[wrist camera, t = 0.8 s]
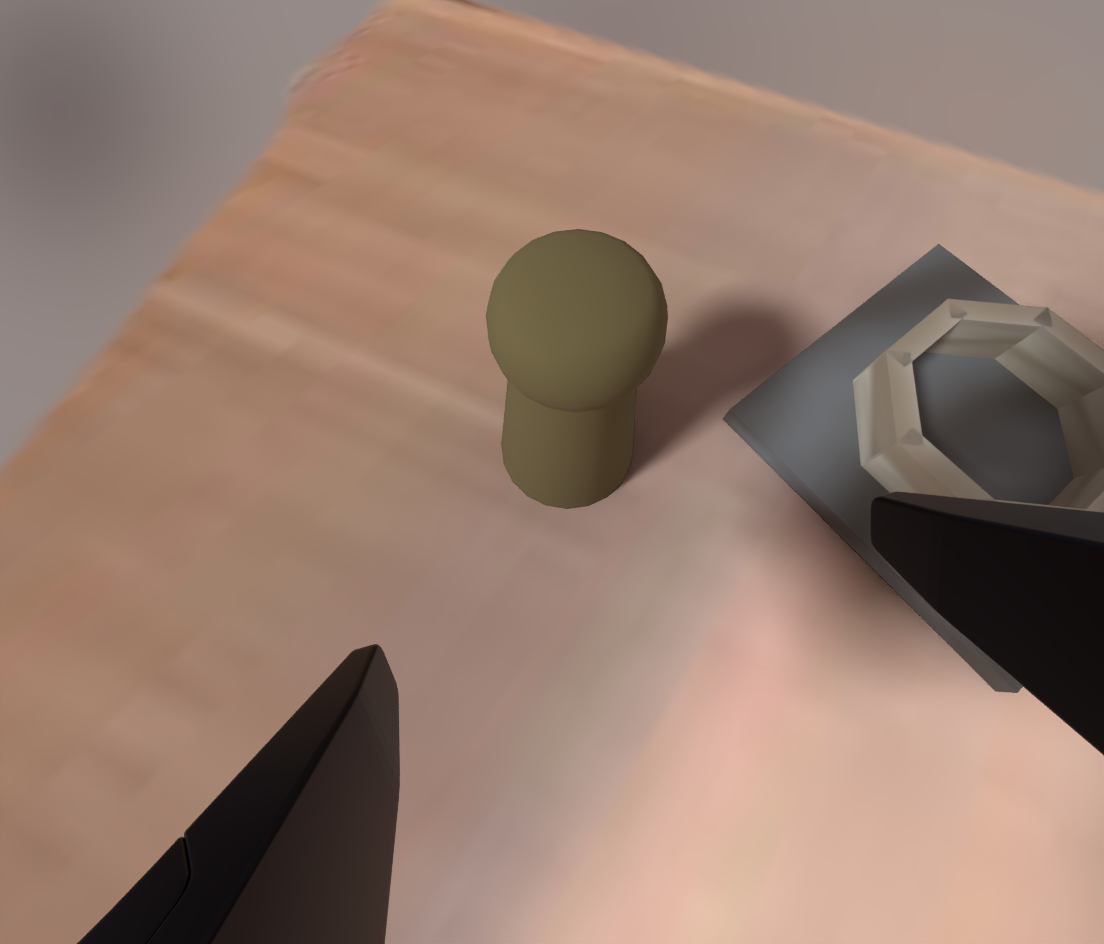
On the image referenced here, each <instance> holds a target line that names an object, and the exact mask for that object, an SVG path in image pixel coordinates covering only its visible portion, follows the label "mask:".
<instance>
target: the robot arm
mask: <svg viewBox="0 0 1104 944" xmlns="http://www.w3.org/2000/svg"><path fill="white" fill-rule="evenodd" d="M870 539H871V543H872V545H873V547H874V548H875V550H876V551H877V552H878V553H879V554H880V555H881V556H882V557H883V558H884V559H885V560H886V561H887V562H888V564H889V565H890V566H891V567H892V568H893V569H894V570H895V571H896V572H897V573H898V574H899V575H900V576H901V577H902V578H903V579H904V580H905V581H906V582H907V583H908V584H909V585H910V586H911V587H912V588H913V589H914V590H915V591H916V592H917V593H918V594H919V595H920V596H921V597H922V598H923V599H924V600H925V601H926V602H927V603H928V604H929V605H930V606H931V607H932V608H933V609H934V610H935V611H936V612H937V613H938V614H939V615H940V616H941V617H942V618H944V619H945V620H946V621H947V622H948V623H949V624H950V625H952V626H953V627H954V628H955V629H956V630H957V631H959V632H960V633H961V634H962V635H963V636H964V637H966V638H967V639H968V640H969V641H970V642H972V643H973V644H974V645H975V646H976V647H977V648H979V649H980V650H981V651H982V652H983V653H984V654H986V655H987V656H988V657H989V658H990V659H991V660H993V661H994V662H995V663H996V664H997V665H998V666H1000V667H1001V668H1002V669H1003V670H1004V671H1005V672H1007V673H1008V674H1009V675H1010V676H1011V677H1013V678H1014V679H1015V680H1016V681H1017V682H1018V683H1020V684H1021V685H1022V686H1023V687H1024V688H1025V689H1027V690H1028V691H1029V692H1030V693H1031V694H1032V695H1034V696H1035V697H1036V698H1037V699H1038V700H1039V701H1041V702H1042V703H1043V704H1044V705H1045V706H1047V707H1048V708H1049V709H1050V710H1051V711H1052V712H1054V713H1055V714H1056V715H1057V716H1058V717H1059V718H1061V719H1062V720H1063V721H1064V722H1065V723H1066V724H1068V725H1069V726H1070V727H1071V728H1072V729H1073V730H1075V731H1076V732H1077V733H1078V734H1079V735H1081V736H1082V737H1083V738H1084V739H1085V740H1086V741H1088V742H1089V743H1090V744H1091V745H1092V746H1093V747H1095V748H1096V749H1097V750H1098V751H1099V752H1100V753H1102V754H1103V755H1104V512H1094V511H1085V510H1075V509H1065V508H1055V507H1046V506H1036V505H1026V504H1016V503H1007V502H997V501H987V500H977V499H968V498H958V497H948V496H938V495H929V494H919V493H909V492H899V491H895V492H890V493H887V494H884V495H880V496H877V497H875V498H874V499H873V500H872V502H871V505H870ZM399 787H400V754H399V697H398V688H397V684H396V681H395V678H394V676H393V674H392V671H391V669H390V666H389V664H388V662H387V659H386V657H385V654H384V652H383V650H382V648H381V647H380V646H379V645H377V644H373V645H370V646H366V647H363V648H359V649H356V650H354V651H352V652H351V653H350V654H349V655H348V656H347V658H346V659H345V660H344V661H343V662H342V663H341V664H340V665H339V666H338V667H337V668H336V669H335V670H334V672H333V673H332V674H331V675H330V676H329V677H328V678H327V679H326V680H325V681H324V682H323V683H322V685H321V686H320V687H319V688H318V689H317V690H316V691H315V692H314V693H313V694H312V695H311V696H310V697H309V699H308V700H307V701H306V702H305V703H304V704H303V705H302V706H301V707H300V708H299V709H298V710H297V711H296V713H295V714H294V715H293V716H292V717H291V718H290V719H289V720H288V721H287V722H286V723H285V724H284V725H283V727H282V728H281V729H280V730H279V731H278V732H277V733H276V734H275V735H274V736H273V737H272V738H271V739H270V741H269V742H268V743H267V744H266V745H265V746H264V747H263V748H262V749H261V750H260V751H259V752H258V753H257V755H256V756H255V757H254V758H253V759H252V760H251V761H250V762H249V763H248V764H247V765H246V766H245V767H244V769H243V770H242V771H241V772H240V773H239V774H238V775H237V776H236V777H235V778H234V779H233V780H232V781H231V782H230V784H229V785H228V786H227V787H226V788H225V789H224V790H223V791H222V792H221V793H220V794H219V795H218V796H217V798H216V799H215V800H214V801H213V802H212V803H211V804H210V805H209V806H208V807H207V808H206V809H205V810H204V812H203V813H202V814H201V815H200V816H199V817H198V818H197V819H196V820H195V821H194V822H193V823H192V824H191V826H190V827H189V828H188V829H187V830H186V831H185V833H184V837H180V838H178V839H177V840H176V841H175V843H174V844H173V845H172V846H171V847H170V848H169V849H168V850H167V851H166V852H165V853H164V855H163V856H162V857H161V858H160V859H159V860H158V861H157V862H156V863H155V864H154V865H153V866H152V867H151V868H150V870H149V871H148V872H147V873H146V874H145V875H144V876H143V877H142V878H141V879H140V880H139V881H138V882H137V883H136V884H135V885H134V886H133V887H132V888H131V889H130V890H129V892H128V893H127V894H126V895H125V896H124V897H123V898H122V899H121V900H120V901H119V902H118V903H117V904H116V905H115V906H114V907H113V908H112V909H111V910H110V911H109V912H108V913H107V914H106V915H105V916H104V917H103V918H102V919H101V920H100V921H99V922H98V923H97V924H96V925H95V926H94V927H93V928H92V929H91V930H90V931H89V932H88V933H87V934H86V935H85V936H84V937H83V938H82V939H81V940H80V941H79V942H78V943H77V944H385V935H386V925H387V915H388V904H389V894H390V884H391V873H392V863H393V853H394V843H395V832H396V822H397V812H398V801H399Z"/></svg>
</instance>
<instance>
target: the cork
mask: <svg viewBox="0 0 1104 944" xmlns="http://www.w3.org/2000/svg"><path fill="white" fill-rule="evenodd" d="M486 321H487V329H488V338H489V343H490V348H491V352H492V353H493V355H494V357H495V359H496V361H497V363H498V365H499V367H500V369H501V371H502V373H503V374H504V375H505V377H506V378H507V379H508V382H507V393H506V403H505V413H504V423H503V433H502V444H501V445H502V453H503V462H504V465H505V467H506V469H507V471H508V473H509V475H510V477H511V479H512V481H513V482H514V483H515V484H516V485H517V486H518V487H519V488H520V489H521V490H522V491H523V492H524V493H525V494H526V495H527V496H529V497H530V498H532V499H534V500H536V501H538V502H540V503H542V504H544V505H547V506H553V507H559V508H565V509H570V508H577V507H584V506H589V505H591V504H593V503H595V502H598V501H600V500H602V499H604V498H606V497H608V496H609V495H610V494H611V493H612V492H613V491H614V490H615V489H616V488H617V487H618V486H619V485H620V484H621V483H622V482H623V480H624V478H625V476H626V474H627V472H628V470H629V468H630V466H631V460H632V453H633V444H634V423H635V402H636V387H637V386H638V385H639V384H641V383H642V382H643V381H644V380H645V379H646V378H647V377H648V376H649V374H650V372H651V370H652V369H653V367H654V365H655V363H656V361H657V359H658V357H659V355H660V354H661V351H662V348H663V346H664V343H665V337H666V329H667V321H668V312H667V303H666V299H665V295H664V292H663V288H662V284H661V282H660V280H659V279H658V277H657V276H656V274H655V273H654V271H653V270H652V268H651V267H650V266H649V264H648V263H647V261H646V260H645V258H644V257H643V255H641V254H640V253H639V252H637V251H636V250H635V249H634V248H632V247H631V246H630V245H628V244H627V243H626V242H625V241H622V240H620V239H617V238H615V237H612V236H610V235H608V234H605V233H603V232H596V231H588V230H581V229H575V230H566V231H557V232H553V233H550V234H547V235H545V236H542V237H540V238H537V239H534V240H532V241H531V242H529V243H528V244H527V245H525V246H524V247H523V248H521V249H520V250H519V251H517V252H516V253H515V254H514V255H513V256H512V257H511V258H510V259H509V260H508V262H507V263H506V264H505V266H504V267H503V269H502V270H501V272H500V273H499V275H498V276H497V277H496V279H495V280H494V283H493V287H492V291H491V295H490V299H489V302H488V307H487V312H486Z"/></svg>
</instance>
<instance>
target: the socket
mask: <svg viewBox="0 0 1104 944" xmlns="http://www.w3.org/2000/svg"><path fill="white" fill-rule="evenodd" d="M723 420H724V421H725V422H726V423H727V424H728V425H729V426H730V427H731V428H732V429H733V430H734V431H735V432H736V433H737V434H738V435H739V436H740V437H741V438H742V439H743V440H744V441H745V442H746V443H747V444H748V445H749V446H750V447H751V448H752V449H753V450H754V451H755V452H756V453H757V454H758V455H760V456H761V457H762V458H763V459H764V460H765V461H766V462H767V463H768V464H769V465H770V466H771V467H772V468H773V469H774V470H775V471H776V472H777V473H778V474H779V475H780V476H781V477H782V478H783V479H784V480H785V481H786V482H787V483H788V484H789V485H790V486H791V487H792V488H793V489H794V490H795V491H796V492H797V493H798V494H799V495H800V496H801V497H802V498H803V499H804V500H805V501H806V502H807V503H808V504H809V505H810V506H811V507H812V508H813V509H814V510H815V511H816V512H817V513H818V514H819V515H820V516H821V517H822V518H823V519H824V520H825V521H826V522H827V523H828V524H829V525H830V526H831V527H832V528H833V529H834V530H835V531H836V532H837V533H838V534H839V535H840V536H841V537H842V538H843V539H844V540H845V541H846V542H847V543H848V544H849V545H850V546H851V547H852V548H853V549H854V550H855V551H856V552H857V553H858V554H859V555H860V556H861V557H862V558H863V559H864V560H865V561H866V562H867V563H868V564H869V565H870V566H871V567H872V568H873V569H874V570H875V571H876V572H877V573H878V574H879V575H880V576H881V577H882V578H883V579H884V580H885V581H886V582H887V583H888V584H889V585H890V586H891V587H892V588H893V589H894V590H895V591H896V592H897V593H898V594H899V595H900V596H901V597H902V598H903V599H904V600H905V601H906V602H907V603H908V604H909V605H910V606H911V607H912V608H913V609H914V610H915V611H916V612H917V613H918V614H919V615H920V616H921V617H922V618H923V619H924V620H925V621H926V622H927V623H928V624H929V625H930V626H931V627H932V628H933V629H934V630H935V631H936V632H937V633H938V634H939V635H940V636H941V637H942V638H943V639H944V640H945V641H946V642H947V643H948V644H949V645H950V646H951V647H952V648H953V649H954V650H955V651H956V652H957V653H958V654H959V655H960V656H961V657H962V658H963V659H964V660H965V661H966V662H967V663H968V664H969V665H970V666H971V667H972V668H973V669H974V670H975V671H976V672H977V673H978V674H979V675H980V676H981V677H982V678H983V679H984V680H985V681H986V682H987V683H988V684H989V685H990V686H991V687H992V688H993V689H994V690H995V691H999V692H1012V693H1018V692H1019V690H1020V689H1021V688H1022V687H1023V686H1022V685H1021V684H1020V683H1018V682H1017V681H1016V680H1015V679H1014V678H1013V677H1011V676H1010V675H1009V674H1008V673H1007V672H1005V671H1004V670H1003V669H1002V668H1001V667H1000V666H998V665H997V664H996V663H995V662H994V661H993V660H991V659H990V658H989V657H988V656H987V655H986V654H984V653H983V652H982V651H981V650H980V649H979V648H977V647H976V646H975V645H974V644H973V643H972V642H970V641H969V640H968V639H967V638H966V637H964V636H963V635H962V634H961V633H960V632H959V631H957V630H956V629H955V628H954V627H953V626H952V625H950V624H949V623H948V622H947V621H946V620H945V619H944V618H942V617H941V616H940V615H939V614H938V613H937V612H936V611H935V610H934V609H933V608H932V607H931V606H930V605H929V604H928V603H927V602H926V601H925V600H924V599H923V598H922V597H921V596H920V595H919V594H918V593H917V592H916V591H915V590H914V589H913V588H912V587H911V586H910V585H909V584H908V583H907V582H906V581H905V580H904V579H903V578H902V577H901V576H900V575H899V574H898V573H897V572H896V571H895V570H894V569H893V568H892V567H891V566H890V565H889V564H888V562H887V561H886V560H885V559H884V558H883V557H882V556H881V555H880V554H879V553H878V552H877V551H876V550H875V548H874V547H873V545H872V543H871V539H870V505H871V502H872V500H873V499H874V498H875V497H877V496H880V495H884V494H887V493H890V492H895V491H899V492H909V493H919V494H929V495H938V496H948V497H958V498H968V499H977V500H987V501H997V502H1007V503H1016V504H1026V505H1036V506H1046V507H1055V508H1065V509H1075V510H1085V511H1094V512H1104V350H1103V349H1102V348H1101V347H1099V346H1098V345H1097V344H1095V343H1094V342H1093V341H1091V340H1090V339H1089V338H1087V337H1086V336H1085V335H1083V334H1082V333H1081V332H1079V331H1078V330H1077V329H1075V328H1074V327H1073V326H1071V325H1070V324H1069V323H1067V322H1066V321H1065V320H1063V319H1062V318H1061V317H1059V316H1058V315H1057V314H1055V313H1054V312H1053V311H1051V310H1050V309H1049V308H1044V307H1033V306H1022V305H1019V304H1018V303H1016V302H1015V301H1014V300H1012V299H1011V298H1010V297H1008V296H1007V295H1006V294H1004V293H1003V292H1002V291H1000V290H999V289H998V288H996V287H995V286H994V285H993V284H991V283H990V282H989V281H987V280H986V279H985V278H983V277H982V276H981V275H979V274H978V273H977V272H975V271H974V270H973V269H971V268H970V267H969V266H967V265H966V264H965V263H963V262H962V261H961V260H959V259H958V258H957V257H956V256H954V255H953V254H952V253H950V252H949V251H948V250H946V249H945V248H944V247H942V246H941V245H940V244H938V245H937V246H935V247H934V248H933V249H932V250H930V251H929V252H928V253H927V254H925V255H924V256H923V257H921V258H920V259H919V260H918V261H916V262H915V263H914V264H913V265H911V266H910V267H909V268H908V269H906V270H905V271H904V272H903V273H901V274H900V275H899V276H897V277H896V278H895V279H894V280H892V281H891V282H890V283H889V284H887V285H886V286H885V287H884V288H882V289H881V290H880V291H878V292H877V293H876V294H875V295H873V296H872V297H871V298H870V299H868V300H867V301H866V302H865V303H863V304H862V305H861V306H860V307H858V308H857V309H856V310H854V311H853V312H852V313H851V314H849V315H848V316H847V317H846V318H844V319H843V320H842V321H841V322H839V323H838V324H837V325H836V326H834V327H833V328H832V329H830V330H829V331H828V332H827V333H825V334H824V335H823V336H822V337H820V338H819V339H818V340H817V341H815V342H814V343H813V344H812V345H810V346H809V347H808V348H806V349H805V350H804V351H803V352H801V353H800V354H799V355H798V356H796V357H795V358H794V359H793V360H791V361H790V362H789V363H788V364H786V365H785V366H784V367H782V368H781V369H780V370H779V371H777V372H776V373H775V374H774V375H772V376H771V377H770V378H769V379H767V380H766V381H765V382H764V383H762V384H761V385H760V386H758V387H757V388H756V389H755V390H753V391H752V392H751V393H750V394H748V395H747V396H746V397H745V398H743V399H742V400H741V401H740V402H738V403H737V404H736V405H734V406H733V407H732V408H731V409H730V410H729V411H728V412H727V414H726V415H725V417H724V418H723Z"/></svg>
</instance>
